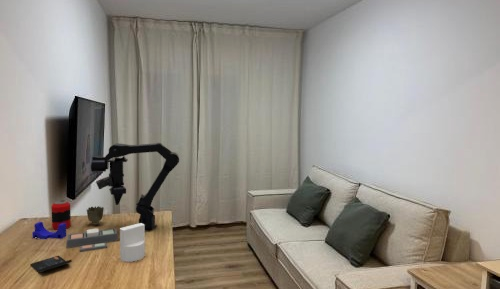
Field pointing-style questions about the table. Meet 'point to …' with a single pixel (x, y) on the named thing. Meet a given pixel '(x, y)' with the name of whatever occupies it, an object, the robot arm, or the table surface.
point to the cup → (95, 214)
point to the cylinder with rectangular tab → (132, 242)
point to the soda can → (61, 214)
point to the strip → (93, 247)
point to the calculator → (49, 263)
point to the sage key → (107, 232)
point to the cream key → (92, 232)
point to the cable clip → (44, 234)
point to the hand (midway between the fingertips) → (116, 204)
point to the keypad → (91, 239)
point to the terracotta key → (76, 236)
